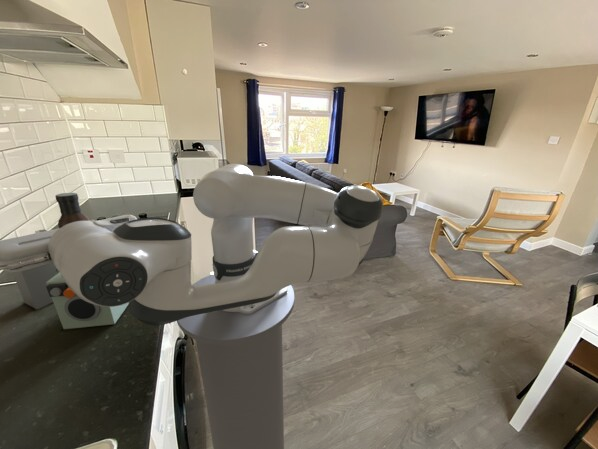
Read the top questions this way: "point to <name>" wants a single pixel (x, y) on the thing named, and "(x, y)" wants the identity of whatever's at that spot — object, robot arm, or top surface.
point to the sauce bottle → (69, 209)
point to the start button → (69, 293)
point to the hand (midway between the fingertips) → (67, 228)
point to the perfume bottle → (35, 285)
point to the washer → (80, 308)
